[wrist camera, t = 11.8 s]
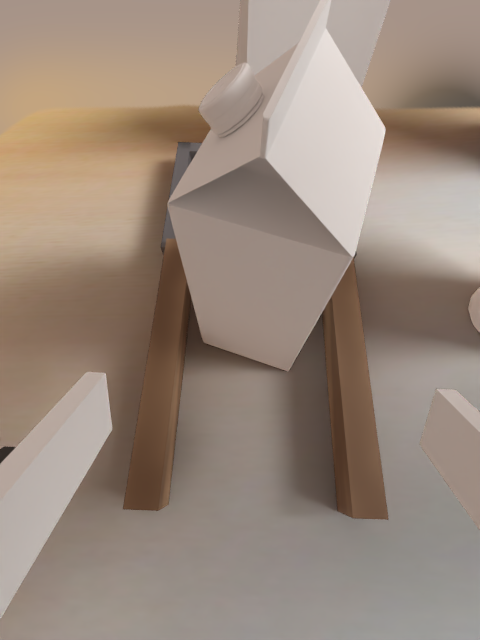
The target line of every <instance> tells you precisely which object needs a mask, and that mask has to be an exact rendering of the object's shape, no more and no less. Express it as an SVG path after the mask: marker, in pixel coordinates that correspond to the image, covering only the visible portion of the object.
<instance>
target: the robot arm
mask: <svg viewBox="0 0 480 640" xmlns="http://www.w3.org/2000/svg"><path fill="white" fill-rule="evenodd" d="M111 431H112V421H111V413H110V404H109V396H108V388H107V380H106V373H101V372H86V373H85V374H84V375H83V376H82V377H81V378H80V379H79V380H78V381H77V383H76V384H75V385H74V386H73V387H72V388H71V389H70V390H69V391H68V392H67V393H66V394H65V395H64V396H63V397H62V399H61V400H60V401H59V402H58V403H57V404H56V405H55V406H54V407H53V408H52V409H51V410H50V411H49V412H48V413H47V415H46V416H45V417H44V418H43V419H42V420H41V421H40V422H39V423H38V424H37V425H36V426H35V427H34V428H33V429H32V431H31V432H30V433H29V434H28V435H27V436H26V437H25V438H24V439H23V440H22V441H21V442H20V443H19V444H18V445H17V447H3V448H1V449H0V619H1V617H2V616H3V614H4V612H5V611H6V609H7V607H8V606H9V604H10V602H11V600H12V599H13V597H14V595H15V594H16V592H17V590H18V589H19V587H20V585H21V583H22V582H23V580H24V578H25V577H26V575H27V573H28V572H29V570H30V568H31V567H32V565H33V563H34V561H35V560H36V558H37V556H38V555H39V553H40V551H41V550H42V548H43V546H44V544H45V543H46V541H47V539H48V538H49V536H50V534H51V533H52V531H53V529H54V527H55V526H56V524H57V522H58V521H59V519H60V517H61V516H62V514H63V512H64V511H65V509H66V507H67V505H68V504H69V502H70V500H71V499H72V497H73V495H74V494H75V492H76V490H77V488H78V487H79V485H80V483H81V482H82V480H83V478H84V477H85V475H86V473H87V472H88V470H89V468H90V466H91V465H92V463H93V461H94V460H95V458H96V456H97V455H98V453H99V451H100V449H101V448H102V446H103V444H104V443H105V441H106V439H107V438H108V436H109V434H110V432H111ZM419 445H420V446H421V447H422V449H423V450H424V452H425V453H426V454H427V456H428V457H429V459H430V460H431V462H432V463H433V464H434V466H435V467H436V469H437V470H438V472H439V473H440V474H441V476H442V477H443V479H444V480H445V482H446V483H447V484H448V486H449V487H450V489H451V490H452V491H453V493H454V494H455V496H456V497H457V499H458V500H459V501H460V503H461V504H462V506H463V507H464V509H465V510H466V511H467V513H468V514H469V516H470V517H471V519H472V520H473V521H474V523H475V524H476V526H477V527H478V529H479V530H480V412H479V411H478V410H477V409H476V408H475V407H474V406H473V405H472V404H471V403H470V402H468V401H467V400H466V399H465V398H464V397H463V396H462V395H461V394H460V393H459V392H457V391H456V390H454V389H436V390H435V394H434V397H433V400H432V404H431V407H430V410H429V414H428V417H427V420H426V424H425V427H424V430H423V434H422V437H421V440H420V444H419Z"/></svg>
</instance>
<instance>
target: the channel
mask: <svg viewBox="0 0 480 640" xmlns="http://www.w3.org/2000/svg"><path fill="white" fill-rule="evenodd" d="M190 305H191V294H190V291H189V287H188V283H187V279H186V275H185V272H184V268H183V264H182V260H181V256H180V253H179V249H178V245H177V241H176V239H168V238H167V239H166V245H165V251H164V257H163V264H162V270H161V276H160V282H159V288H158V295H157V301H156V307H155V313H154V319H153V326H152V332H151V338H150V344H149V350H148V357H147V363H146V369H145V375H144V382H143V388H142V394H141V400H140V406H139V413H138V419H137V425H136V431H135V437H134V444H133V450H132V456H131V462H130V468H129V475H128V481H127V487H126V493H125V499H124V506H123V509H131V510H156V511H158V510H160V509H162V508H163V507H165V506H167V505H168V504H169V495H170V486H171V477H172V468H173V459H174V450H175V441H176V432H177V423H178V414H179V404H180V395H181V386H182V377H183V368H184V359H185V350H186V341H187V332H188V323H189V314H190ZM322 319H323V332H324V345H325V357H326V370H327V383H328V396H329V408H330V421H331V434H332V447H333V460H334V472H335V485H336V498H337V511H338V512H341V513H343V514H345V515H347V516H349V517H352V518H362V519H387V520H388V512H387V505H386V497H385V490H384V482H383V475H382V467H381V460H380V452H379V445H378V438H377V430H376V423H375V415H374V408H373V400H372V393H371V385H370V378H369V370H368V363H367V355H366V348H365V340H364V333H363V325H362V318H361V310H360V303H359V295H358V288H357V281H356V273H355V266H354V258H353V259H352V261H351V263H350V264H349V266H348V268H347V270H346V271H345V273H344V275H343V277H342V278H341V280H340V282H339V284H338V285H337V287H336V289H335V291H334V292H333V294H332V296H331V298H330V299H329V301H328V303H327V305H326V306H325V308H324V310H323V312H322Z"/></svg>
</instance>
